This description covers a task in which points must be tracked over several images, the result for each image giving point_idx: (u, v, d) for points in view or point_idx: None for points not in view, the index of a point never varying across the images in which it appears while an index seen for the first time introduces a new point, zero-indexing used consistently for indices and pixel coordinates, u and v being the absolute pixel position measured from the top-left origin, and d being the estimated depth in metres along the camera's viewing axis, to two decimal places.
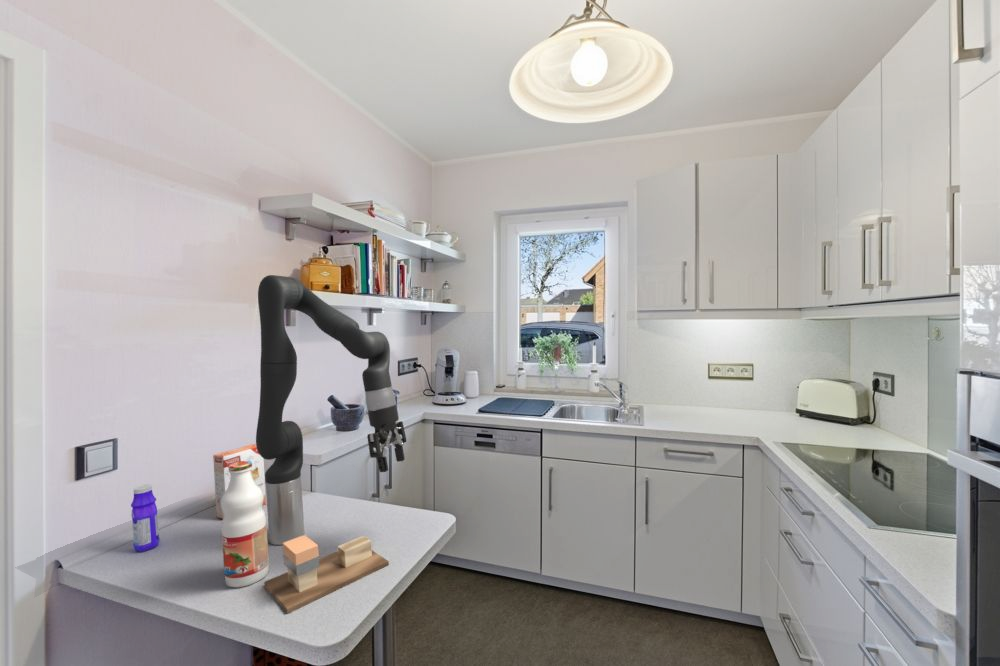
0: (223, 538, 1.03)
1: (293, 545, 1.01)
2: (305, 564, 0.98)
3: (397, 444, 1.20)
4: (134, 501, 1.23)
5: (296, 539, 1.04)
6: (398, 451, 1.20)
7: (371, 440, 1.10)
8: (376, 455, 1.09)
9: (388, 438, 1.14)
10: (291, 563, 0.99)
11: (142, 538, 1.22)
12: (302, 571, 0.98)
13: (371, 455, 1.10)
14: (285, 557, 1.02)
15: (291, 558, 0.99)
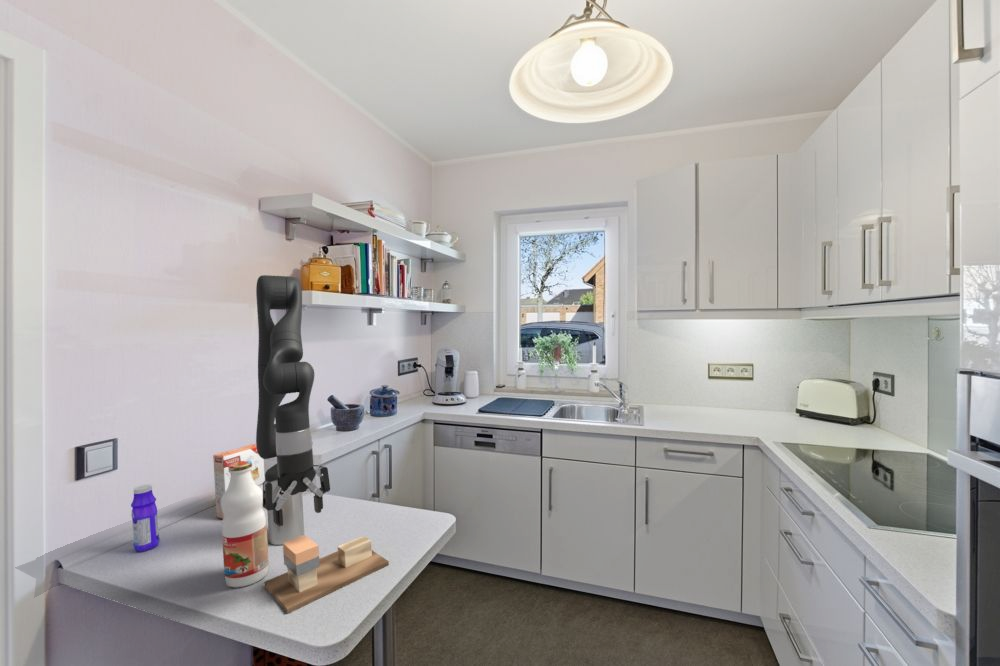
0: (223, 538, 1.03)
1: (293, 545, 1.01)
2: (305, 564, 0.98)
3: None
4: (134, 501, 1.23)
5: (296, 539, 1.04)
6: (315, 501, 1.04)
7: (264, 489, 0.96)
8: (265, 508, 0.96)
9: (289, 489, 0.98)
10: (291, 563, 0.99)
11: (142, 538, 1.22)
12: (302, 571, 0.98)
13: (263, 505, 0.97)
14: (285, 557, 1.02)
15: (291, 558, 0.99)
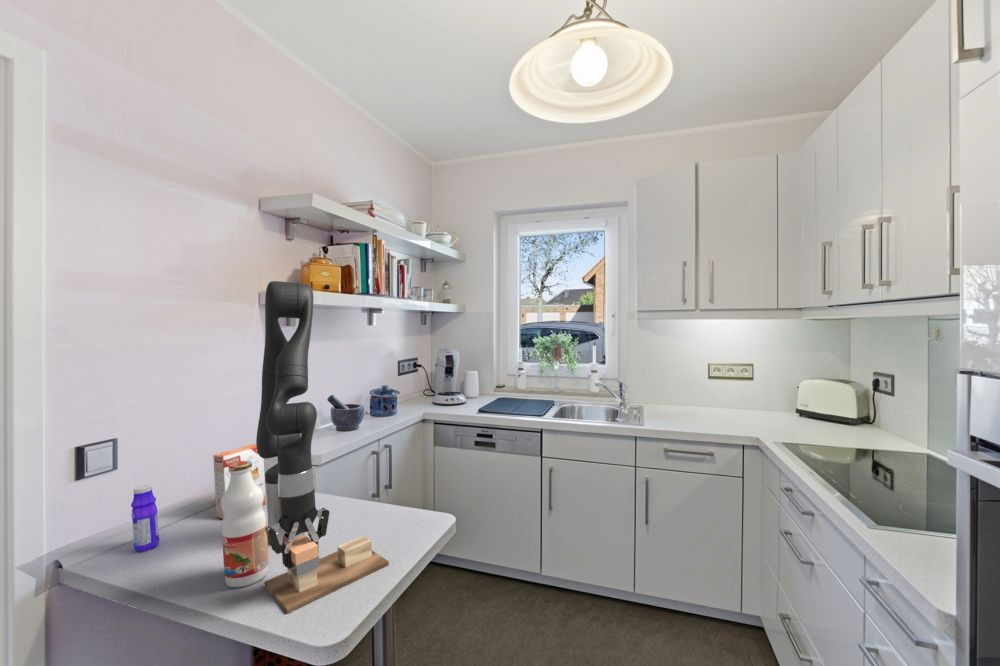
0: (223, 538, 1.03)
1: (293, 545, 1.01)
2: (305, 564, 0.98)
3: (311, 537, 1.03)
4: (134, 501, 1.23)
5: (296, 539, 1.04)
6: None
7: (268, 536, 0.97)
8: (275, 552, 0.97)
9: (293, 531, 0.99)
10: None
11: (142, 538, 1.22)
12: (302, 571, 0.98)
13: (272, 549, 0.98)
14: None
15: (291, 558, 0.99)
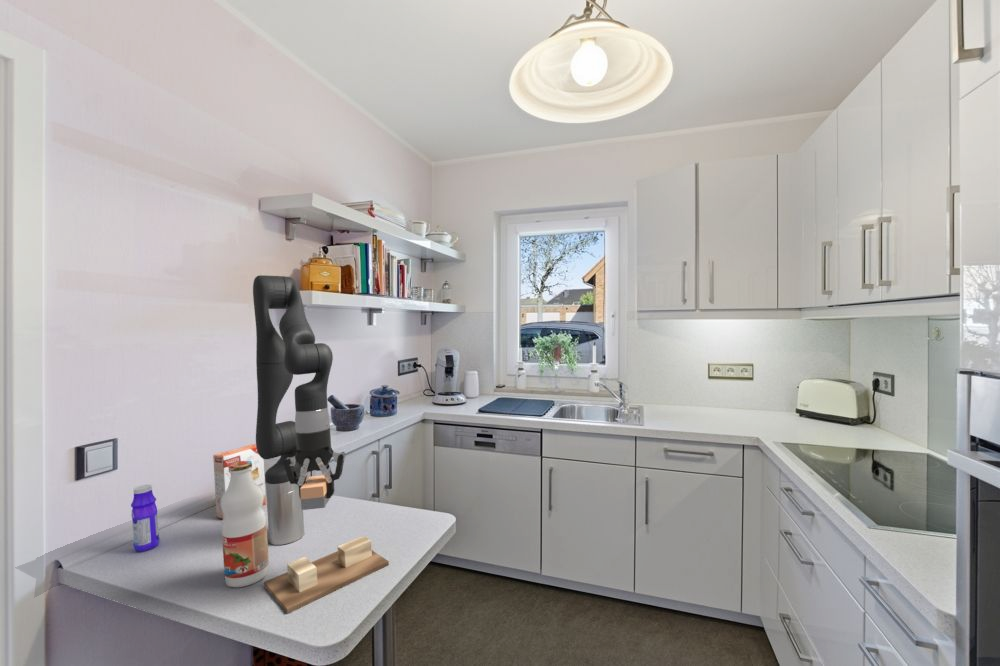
0: (223, 538, 1.03)
1: (310, 481, 1.05)
2: (309, 500, 1.00)
3: None
4: (134, 501, 1.23)
5: (320, 476, 1.08)
6: None
7: None
8: None
9: (304, 467, 1.02)
10: None
11: (142, 538, 1.22)
12: (307, 507, 1.00)
13: None
14: None
15: None
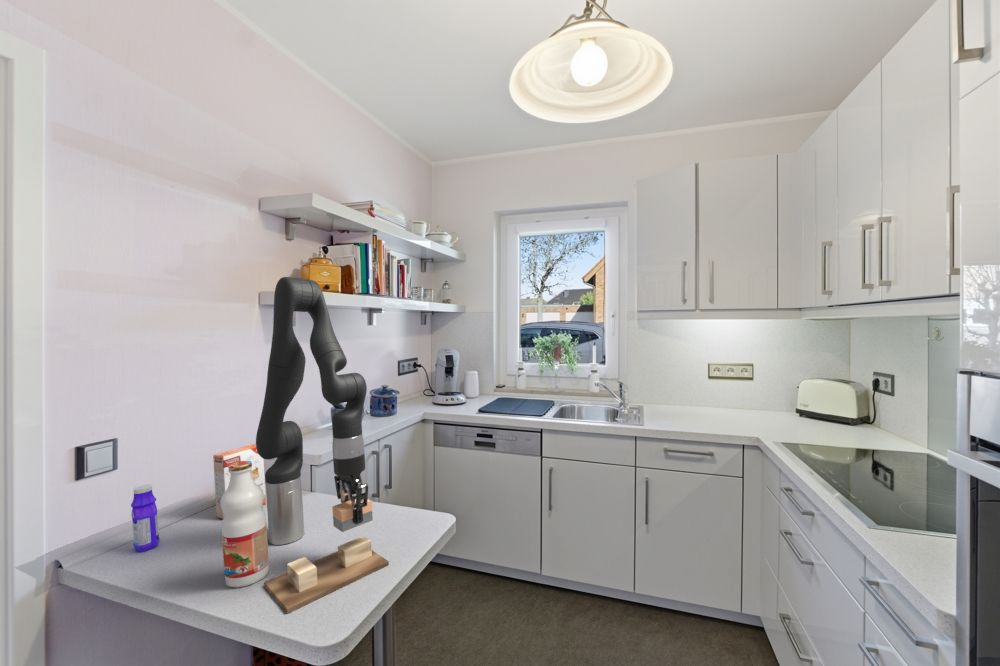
0: (223, 538, 1.03)
1: None
2: (336, 520, 1.08)
3: None
4: (134, 501, 1.23)
5: None
6: None
7: None
8: None
9: (341, 487, 1.11)
10: None
11: (142, 538, 1.22)
12: (335, 525, 1.09)
13: None
14: None
15: None
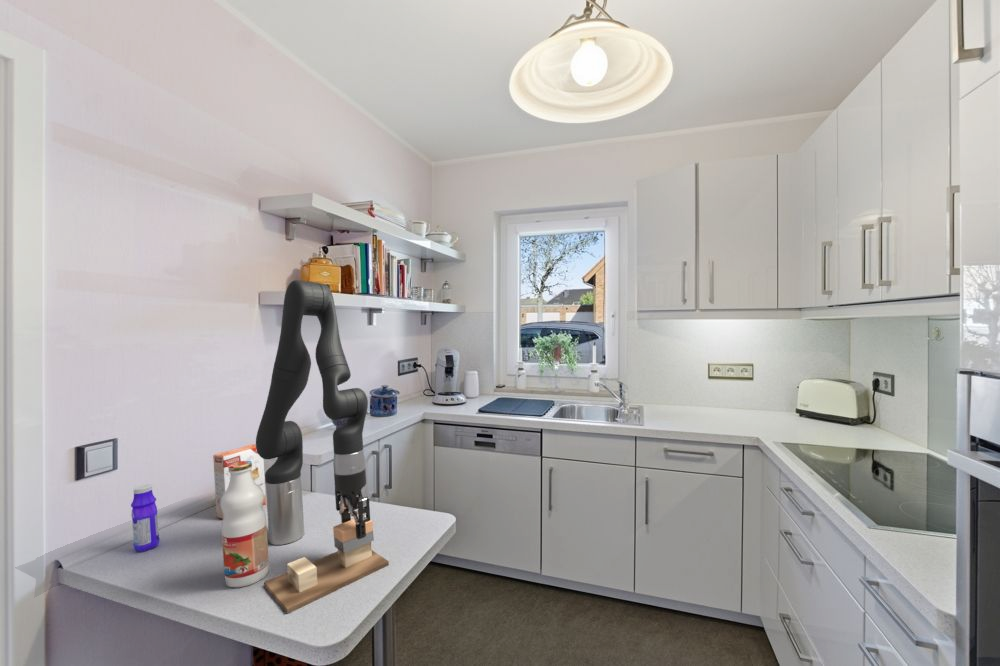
0: (223, 538, 1.03)
1: (352, 521, 1.12)
2: (337, 541, 1.08)
3: None
4: (134, 501, 1.23)
5: None
6: None
7: None
8: None
9: (341, 501, 1.11)
10: None
11: (142, 538, 1.22)
12: (336, 545, 1.09)
13: None
14: None
15: None
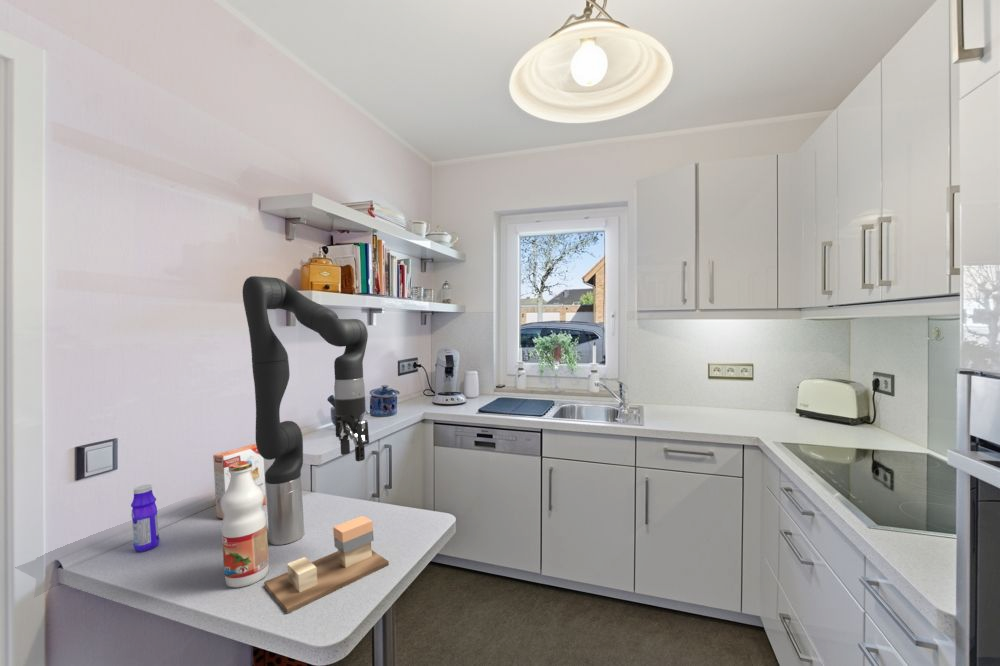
0: (223, 538, 1.03)
1: (352, 521, 1.12)
2: (337, 541, 1.08)
3: None
4: (134, 501, 1.23)
5: (364, 519, 1.13)
6: None
7: None
8: None
9: (341, 427, 1.15)
10: None
11: (142, 538, 1.22)
12: (336, 545, 1.09)
13: None
14: None
15: None
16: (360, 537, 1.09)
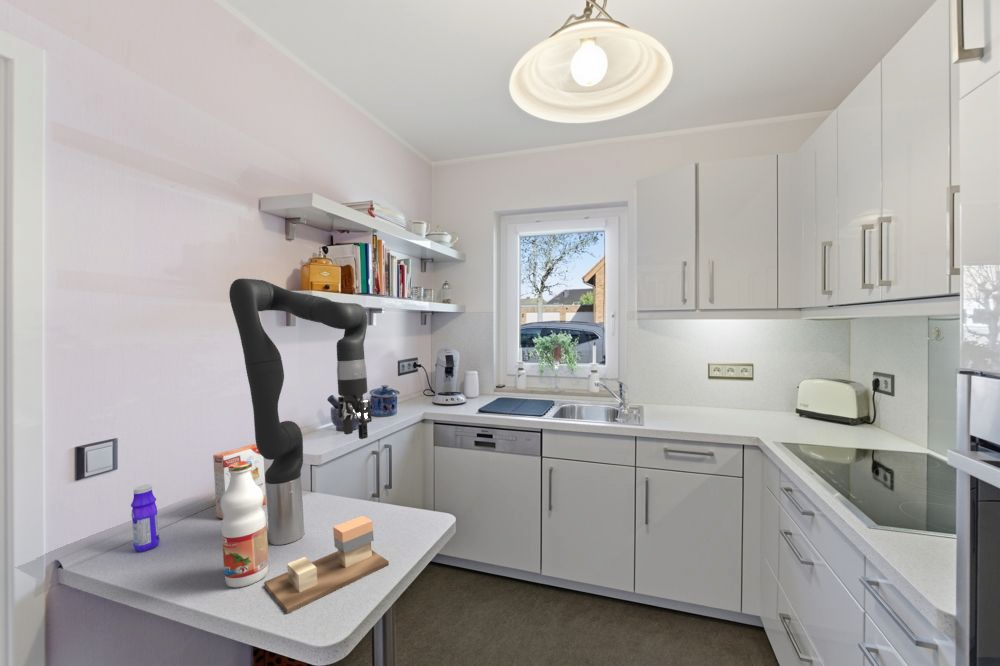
0: (223, 538, 1.03)
1: (352, 521, 1.12)
2: (337, 541, 1.08)
3: None
4: (134, 501, 1.23)
5: (364, 519, 1.13)
6: None
7: None
8: None
9: (344, 407, 1.19)
10: None
11: (142, 538, 1.22)
12: (336, 545, 1.09)
13: None
14: None
15: None
16: (360, 537, 1.09)
